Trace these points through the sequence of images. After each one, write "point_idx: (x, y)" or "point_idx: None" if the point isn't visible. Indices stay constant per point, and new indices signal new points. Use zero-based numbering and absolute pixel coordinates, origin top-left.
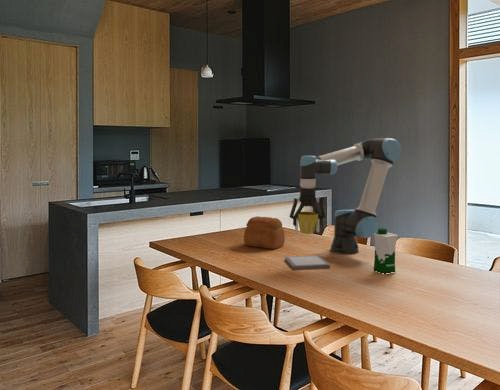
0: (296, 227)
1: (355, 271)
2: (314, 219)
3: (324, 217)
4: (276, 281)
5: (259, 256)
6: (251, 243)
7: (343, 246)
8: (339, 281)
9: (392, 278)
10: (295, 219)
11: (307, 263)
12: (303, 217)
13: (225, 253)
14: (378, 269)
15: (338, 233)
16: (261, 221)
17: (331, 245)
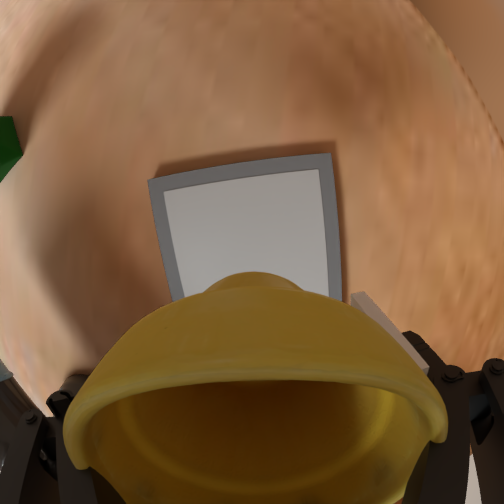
0: (384, 314)
1: (69, 139)
2: (133, 329)
3: (33, 409)
4: (389, 23)
5: None
6: None
7: None
8: (159, 11)
9: (8, 88)
10: (440, 368)
11: (254, 198)
12: (382, 338)
13: (480, 361)
14: (10, 132)
15: None
16: (400, 501)
17: None
